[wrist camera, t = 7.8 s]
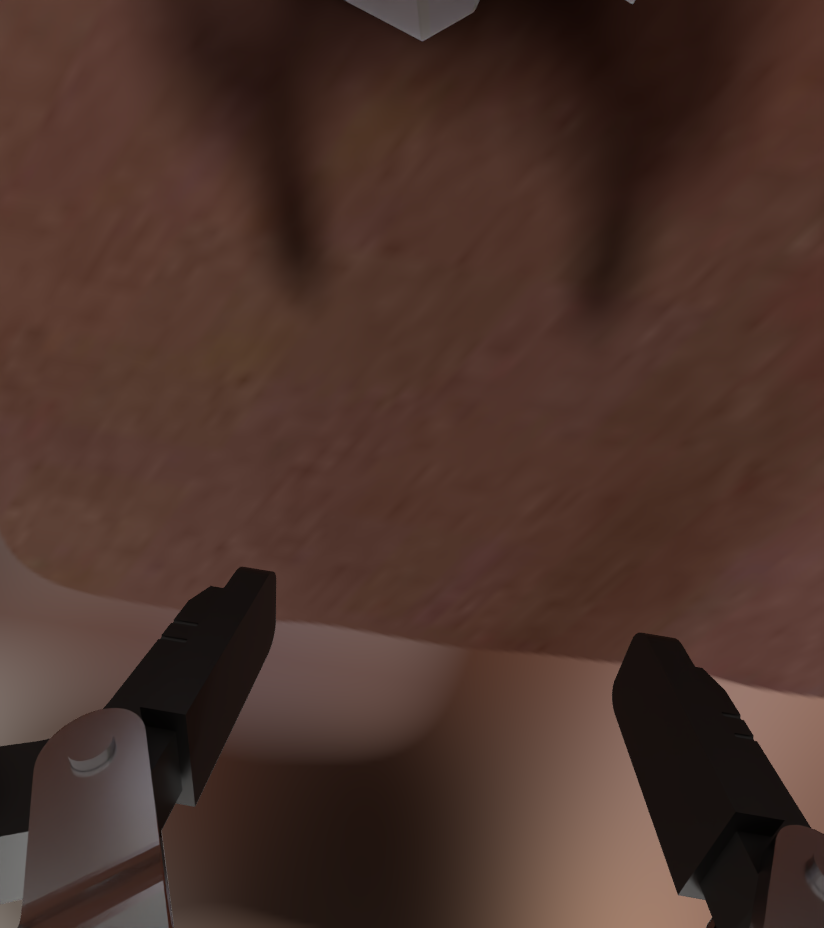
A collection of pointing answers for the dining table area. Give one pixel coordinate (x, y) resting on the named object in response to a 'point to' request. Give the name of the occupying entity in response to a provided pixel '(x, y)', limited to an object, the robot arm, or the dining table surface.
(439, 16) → the charger
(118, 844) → the robot arm
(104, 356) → the dining table surface
